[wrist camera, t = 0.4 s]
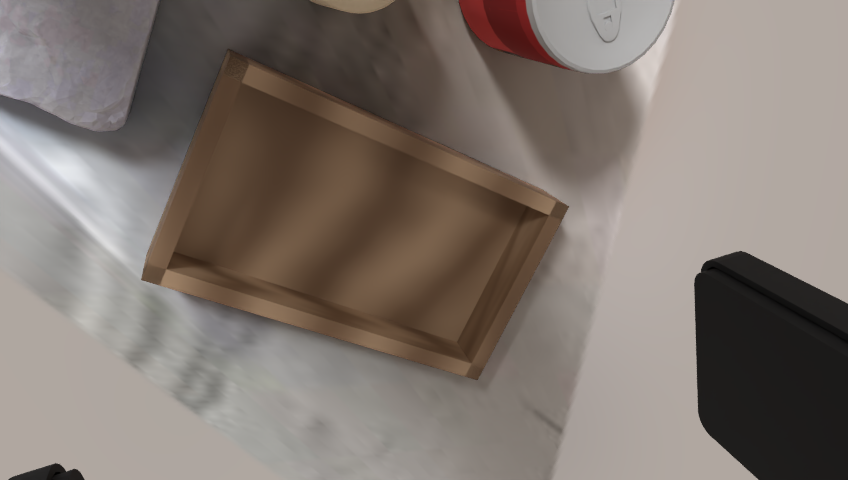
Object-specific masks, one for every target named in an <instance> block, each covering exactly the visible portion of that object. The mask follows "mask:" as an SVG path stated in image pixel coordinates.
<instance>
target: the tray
mask: <svg viewBox="0 0 848 480" xmlns="http://www.w3.org/2000/svg"><path fill="white" fill-rule="evenodd" d="M568 208H569V206H567V205H566V204H564V203H563V202H561V201H559V200H558V199H556V198H555V197H553V196H552V195H550V194H548V193H547V192H545V191H544V190H542V189H540V188H537V187H535V186H533V185H531V184H529V183H526V182H524V181H522V180H520V179H517V178H515V177H513V176H511V175H508V174H506V173H504V172H502V171H500V170H497V169H495V168H493V167H491V166H488V165H486V164H484V163H482V162H480V161H477V160H475V159H473V158H471V157H468V156H466V155H464V154H462V153H459V152H457V151H455V150H453V149H451V148H448V147H446V146H444V145H442V144H439V143H437V142H435V141H433V140H430V139H428V138H426V137H424V136H422V135H419V134H417V133H415V132H413V131H410V130H408V129H406V128H404V127H401V126H399V125H397V124H395V123H393V122H390V121H388V120H386V119H384V118H381V117H379V116H377V115H375V114H372V113H370V112H368V111H366V110H364V109H361V108H359V107H357V106H355V105H352V104H350V103H348V102H346V101H344V100H341V99H339V98H337V97H335V96H332V95H330V94H328V93H326V92H323V91H321V90H319V89H317V88H315V87H312V86H310V85H308V84H306V83H303V82H301V81H299V80H297V79H294V78H292V77H290V76H288V75H286V74H283V73H281V72H279V71H277V70H274V69H272V68H270V67H268V66H265V65H263V64H261V63H259V62H257V61H254V60H252V59H250V58H248V57H245V56H243V55H241V54H239V53H236V52H234V51H232V50H230V49H228V50H227V53H226V55H225V58H224V60H223V63H222V65H221V68H220V71H219V73H218V76H217V78H216V81H215V83H214V86H213V88H212V91H211V93H210V96H209V98H208V101H207V103H206V106H205V108H204V111H203V113H202V116H201V119H200V121H199V124H198V126H197V129H196V131H195V134H194V136H193V139H192V141H191V144H190V146H189V149H188V151H187V154H186V156H185V159H184V161H183V164H182V167H181V169H180V172H179V174H178V177H177V179H176V182H175V184H174V187H173V189H172V192H171V194H170V197H169V199H168V202H167V204H166V207H165V209H164V212H163V215H162V217H161V220H160V222H159V225H158V227H157V230H156V232H155V235H154V237H153V240H152V242H151V245H150V247H149V250H148V252H147V255H146V260H145V265H144V269H143V274H142V279H141V280H143V281H147V282H150V283H153V284H157V285H160V286H163V287H167V288H170V289H173V290H177V291H180V292H183V293H187V294H190V295H193V296H197V297H200V298H204V299H207V300H210V301H214V302H217V303H220V304H224V305H227V306H230V307H234V308H237V309H240V310H244V311H247V312H250V313H254V314H257V315H260V316H264V317H267V318H271V319H274V320H277V321H281V322H284V323H287V324H291V325H294V326H297V327H301V328H304V329H307V330H311V331H314V332H317V333H321V334H324V335H328V336H331V337H334V338H338V339H341V340H344V341H348V342H351V343H354V344H358V345H361V346H364V347H368V348H371V349H374V350H378V351H381V352H384V353H388V354H391V355H395V356H398V357H401V358H405V359H408V360H411V361H415V362H418V363H421V364H425V365H428V366H431V367H435V368H438V369H441V370H445V371H448V372H451V373H455V374H458V375H462V376H465V377H468V378H472V379H475V380H478V378H479V376H480V374H481V373H482V371H483V369H484V367H485V365H486V363H487V361H488V359H489V357H490V355H491V354H492V352H493V350H494V348H495V346H496V344H497V342H498V340H499V338H500V337H501V335H502V333H503V331H504V329H505V327H506V325H507V323H508V321H509V319H510V318H511V316H512V314H513V312H514V310H515V308H516V306H517V304H518V302H519V301H520V299H521V297H522V295H523V293H524V291H525V289H526V287H527V285H528V283H529V282H530V280H531V278H532V276H533V274H534V272H535V270H536V268H537V266H538V265H539V263H540V261H541V259H542V257H543V255H544V253H545V251H546V249H547V247H548V246H549V244H550V242H551V240H552V238H553V236H554V234H555V232H556V230H557V229H558V227H559V225H560V223H561V221H562V219H563V217H564V215H565V213H566V212H567V210H568Z"/></svg>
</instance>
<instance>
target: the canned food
mask: <svg viewBox="0 0 848 480" xmlns="http://www.w3.org/2000/svg"><path fill="white" fill-rule="evenodd" d="M674 1H675V0H459V4H460V7H461V10H462V13H463V15H464V17H465V19H466V21H467V23H468V25H469V26H470V28H471V30H472V31H473V32H474V33H475V34H476V35H477V37H478V38H479V39H480V40H482V41H483V42H484V43H486V44H487V45H488V46H490V47H492V48H494V49H496V50H498V51H501V52H505V53H509V54H512V55H516V56H520V57H523V58H527V59H531V60H534V61H538V62H542V63H545V64H549V65H553V66H556V67H560V68H564V69H568V70H573V71H578V72H582V73H592V74H594V73H609V72H613V71H617V70H620V69H622V68H624V67H626V66H629V65H631V64H633V63H634V62H635V61H636V60H638V59H639V58H640V57H642V56H643V55H644V54H645V53H646V52H647V51H648V50H649V49H650V48H651V47H652V46H653V45H654V44H655V42H656V41H657V39H658V38H659V36H660V35H661V33H662V32H663V30H664V28H665V26H666V24H667V21H668V19H669V17H670V15H671V12H672V8H673V4H674Z"/></svg>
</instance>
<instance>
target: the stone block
mask: <svg viewBox="0 0 848 480" xmlns="http://www.w3.org/2000/svg"><path fill="white" fill-rule="evenodd" d="M159 3H160V0H0V95H3V96H6V97H8V98H13V99H17V100H21V101H24V102H28V103H31V104H32V105H34V106H36V107H38V108H40V109H42V110H44V111H46V112H48V113H51V114H53V115H55V116H57V117H59V118H61V119H63V120H64V121H66V122H68V123H70V124H73V125H76V126H79V127H82V128H87V129H90V130H93V131H96V132H100V131H115V130H119V129H120V128H121V127H122V126H124V125H125V123H126V120H127V119H128V116H129V113H130V109H131V105H132V102H133V98H134V95H135V91H136V87H137V83H138V80H139V76H140V72H141V68H142V65H143V62H144V58H145V54H146V51H147V47H148V43H149V40H150V36H151V33H152V29H153V25H154V21H155V18H156V14H157V11H158V7H159Z"/></svg>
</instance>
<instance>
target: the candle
mask: <svg viewBox="0 0 848 480" xmlns="http://www.w3.org/2000/svg"><path fill="white" fill-rule="evenodd" d="M309 1H311V2H313V3H316V4H319V5H322V6H325V7H329V8H333V9H337V10H341V11H345V12H349V13H359V14H360V13H370V12H374V11H377V10H380V9H383V8H384V7H386V6H388V5H390V4H391V3H393V2H394V1H395V0H309Z"/></svg>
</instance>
